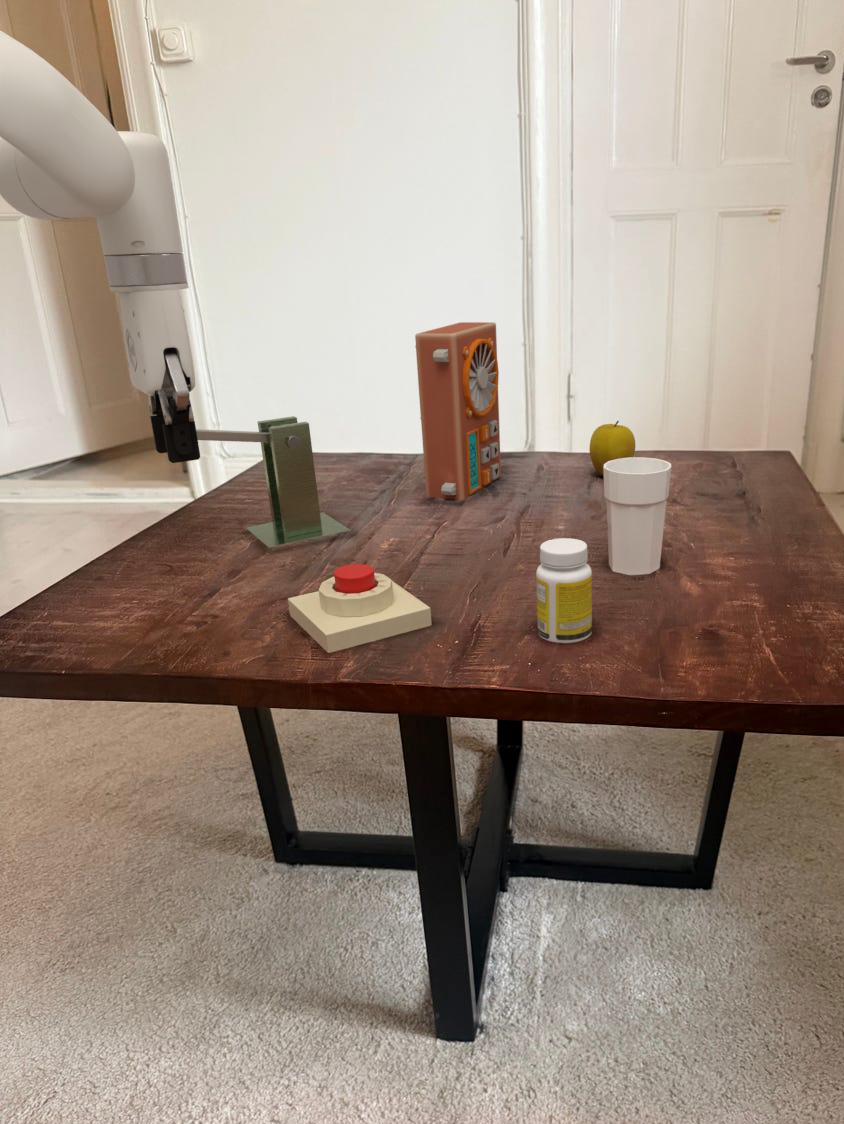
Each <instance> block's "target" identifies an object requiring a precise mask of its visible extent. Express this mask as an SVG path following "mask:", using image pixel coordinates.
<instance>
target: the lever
mask: <svg viewBox="0 0 844 1124" xmlns="http://www.w3.org/2000/svg"><path fill="white" fill-rule="evenodd" d="M271 427H273V425H271ZM196 432H197V439H198V441H210V442H211V441H213V442H239V443H241V442H242V443H261V442H267V443H270V447H271V441H270V434H269V432H259V431H251V430H250V431H247V430H223V429H221V430H220V429H199V428H198V429H197V428H196Z"/></svg>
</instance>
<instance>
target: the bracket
mask: <svg viewBox="0 0 844 1124" xmlns="http://www.w3.org/2000/svg"><path fill="white" fill-rule="evenodd" d="M271 425H273V427H271ZM257 426H258V427H257V428H258V432H269V434H270V441H271V447H270V443H267V442H260V448H261V455H262V463H263V467H264V474H265V482H266V488H267V495H268V502H269V503H268V504H269V508H270V514H271V516H270V517H271V522H266V523H261V524H256V525H251V526H246V527H245V529H246V530H247V531H249V532H250V533H251V534H252V535H253V536H255V538H257V540H259V541H260V542H261V543H263V544H264V545H265V546H266V547H267V548H273V547H279V546H282V545H287V544H288V545H289V544H292V543H296V542H302V541H306V540H311V539H316V538H321V537H326V536H331V535H336V534H340V533H345V532H350V531H351V529H350V528H348V527H346V526H345V525H344V524H342V523H341V522H339V521H337V520H336V519H335V518H333V517H331V516H330V515H329V514H327V513H326V512H324V511H323V512H321V510H320V501H319V493H318V486H317V478H316V477H317V476H316V469H315V461H314V453H313V446H312V445H313V444H312V438H311V430H310V429H311V427H310V423H309V422H307V421H301V422H298V417H296V416H294V415H293V416H287V417H280V418H279V417H278V418H273V419H266V420H265V419H264V420H259V421H257Z"/></svg>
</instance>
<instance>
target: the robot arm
mask: <svg viewBox="0 0 844 1124" xmlns="http://www.w3.org/2000/svg"><path fill="white" fill-rule="evenodd" d="M0 138H1V139H0V196H1V198H2V199H3V200H4V201H5V202H6V203H7V204H8V205H9V206H11V207H12V208H13V209H14V210H16V211H18V212H19V213H21V214H23V215H25V216H26V217H27V216H28V217H31V218H33V219H38V220H43V221H60V220H61V221H63V220H70V219H71V220H73V219H79V218H80V219H81V218H92V217H93V218H96V224H97V229H98V234H99V239H100V244H101V249H102V254H103V260H104V266H105V270H106V277H107V281H108V282H107V283H108V287H109V291H110V293H118V294H119V305H120V306H119V307H120V308H119V309H120V317H121V325H122V332H123V338H124V346H125V352H126V359H127V365H128V373H129V377H130V378H129V379H130V382H131V385H132V386H133V387H134V388H135V389H137V390H138V391H140V392H142V393H144V394H145V395H147V400H148V408H149V412H150V416H149V417H150V418H149V419H150V423H151V429H152V434H153V440H154V445H155V450H156V452H157V453H159V454H166V453H167V454H166V455H167V459H168V461H169V463H171V464H177V463H184V462H185V463H186V462H192V461H198V460H200V459H201V452H200V445H199V440H198V439H197V432H196V429H197V425H196V421H195V416H194V412H193V407H192V402H191V398H190V396H191V395H190V393H191V392H192V391H194V389H195V387H196V375H195V368H194V360H193V354H192V347H191V342H190V337H189V331H188V325H187V320H186V316H185V309H184V306H183V300H182V297H181V292H180V290H185V289H186V290H187V289H189V282H188V281H189V280H188V274H187V268H186V261H185V256H184V255H185V254H184V253H183V252H184V249H183V243H182V237H181V231H180V223H179V217H178V210H177V203H176V198H175V197H176V196H175V191H174V184H173V177H172V170H171V165H170V164H171V163H170V158H169V153H168V149H167V147H166V145H165V143H164V141H163V140H162V139H161V138H160V137H158V136H157V135H155V134H152V133H149V132H143V131H142V132H141V131H129V130H117V129H116V128H115V127H114V126H113V124H112V123H111V122H110V121H109V120H108V119H107V118H106V117H105V116H104V115H103V113H102V112H100V110H99V109H98V108H97V107H96V106H95V105H94V104H93V103H92V102H91V101H90V100H89V99H88V98H87V96H85V95H84V94H83V93H82V92H81V91H80V90H79V89H78V88H77V87H76V86H75V85H74V84H73V83H72V82H71V81H69V80H68V78H67V77H65V75H63V74H62V73H61V72H60V71H59V70H58V69H56V67H54V66H53V65H52V64H51V63H49V62H48V61H47V60H46V59H44V58H43V57H42V56H40V55H39V54H38V53H36V52H35V51H33V50H32V49H31V48H29V47H28V46H26V45H24V43H22V42H20V41H18V40H17V39H15V38H13V36H10V35H8V34H7V33H5V32H4V31H2V30H0Z"/></svg>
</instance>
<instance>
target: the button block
mask: <svg viewBox="0 0 844 1124" xmlns="http://www.w3.org/2000/svg"><path fill="white" fill-rule="evenodd" d="M374 575H375V585H376V587H375V588H373V589H372V590H370V591H366V592H362V593H354V594H345V593H340V592H337V591H336V586H335V578H334V576H332V577H330V578H328V579H326V580H324V581H322V582H321V584H320V586H319V588H318V590H317V591H313V592H309V593H305V594H301V595H296V596H291V597H288V598H287V604H288V610H289V612H288V613H289V616H290V617H291V618H292V619H293V620H294V621H295V622H296V623H297V624H298V625H299V626H300V627H301V628H302V629H303V630H304V631H305V632H306V633H307V634H308V635H309V636H310V637H311V638H312V639H313V640H314V641H315V642H316V643H317V644H318V645H319V646H320V647H321V648H322V649H323V650H324V651H325V652H326V653H328V654H331V653H334V652H338V651H342V650H345V649H350V648H353V647H357V646H360V645H361V646H362V645H365V644H367V643H372V642H375V641H380V640H383V639H386V638H390V637H394V636H398V635H401V634H405V633H409V632H413V631H416V630H420V629H424V628H427V627H431V626H432V625H433V624H432V609H431V607H430V606H428V605H427V604H425V603H424V602H423V601H421V599H419V598H417V597H416V596H414V595H413V594H412V593H410V592H409V591H407V589H404V588H403V587H402V586H400V585H398V583H396V582H394V581H393V580H392V578H389V577H388V576H387V575H386V574H383V573H378V572H374Z"/></svg>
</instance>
